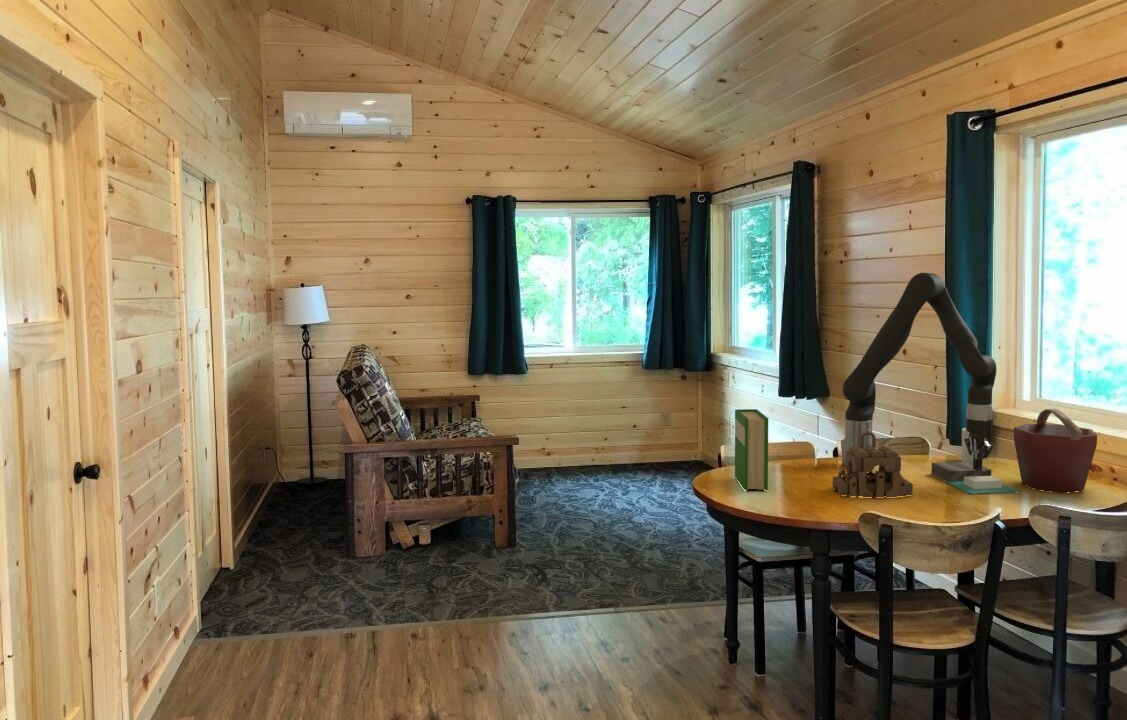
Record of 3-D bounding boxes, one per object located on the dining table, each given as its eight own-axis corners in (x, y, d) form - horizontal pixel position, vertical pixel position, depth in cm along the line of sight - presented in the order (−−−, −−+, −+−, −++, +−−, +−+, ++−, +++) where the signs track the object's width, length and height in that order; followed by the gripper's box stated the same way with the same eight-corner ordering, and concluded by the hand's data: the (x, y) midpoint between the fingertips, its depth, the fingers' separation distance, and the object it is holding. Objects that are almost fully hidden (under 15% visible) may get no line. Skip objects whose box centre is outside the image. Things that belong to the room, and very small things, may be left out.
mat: (969, 494, 250) (969, 492, 250) (945, 482, 265) (945, 480, 265) (1019, 493, 251) (1019, 491, 251) (992, 480, 266) (992, 479, 266)
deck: (949, 483, 264) (949, 471, 264) (931, 474, 276) (931, 462, 276) (991, 481, 265) (991, 469, 264) (971, 472, 277) (971, 461, 276)
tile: (963, 476, 260) (963, 484, 261) (974, 481, 254) (974, 489, 255) (990, 475, 261) (990, 483, 261) (1001, 480, 255) (1001, 488, 255)
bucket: (1098, 500, 242) (1102, 418, 239) (1015, 493, 251) (1018, 414, 249) (1084, 480, 264) (1088, 406, 261) (1008, 475, 273) (1011, 402, 271)
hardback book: (767, 491, 258) (768, 418, 255) (744, 492, 258) (744, 418, 256) (756, 478, 275) (756, 409, 273) (734, 478, 276) (735, 409, 273)
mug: (956, 460, 296) (957, 428, 294) (973, 459, 297) (974, 427, 295) (974, 466, 286) (976, 433, 284) (991, 465, 287) (993, 432, 285)
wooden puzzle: (842, 499, 248) (843, 440, 246) (829, 487, 263) (830, 431, 261) (915, 499, 247) (917, 439, 245) (898, 486, 261) (899, 430, 259)
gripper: (956, 414, 265) (955, 465, 267) (979, 421, 252) (977, 475, 254) (979, 413, 266) (977, 464, 267) (1002, 420, 252) (1000, 474, 254)
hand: (977, 469), depth 261 cm, fingers closed
